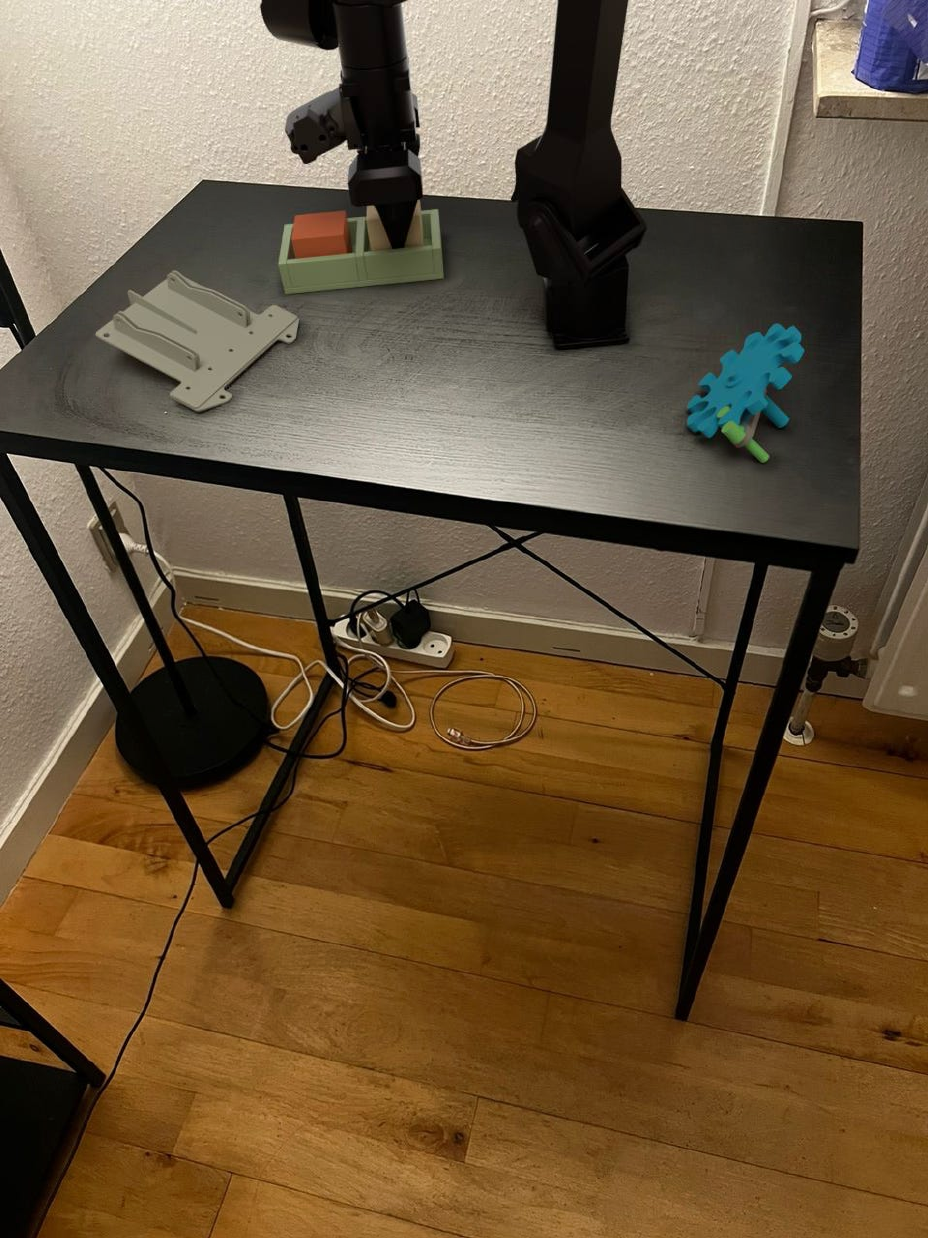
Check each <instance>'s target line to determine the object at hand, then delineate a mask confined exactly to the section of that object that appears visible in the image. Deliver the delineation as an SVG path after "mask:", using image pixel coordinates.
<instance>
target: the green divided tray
mask: <svg viewBox="0 0 928 1238" xmlns="http://www.w3.org/2000/svg"><path fill="white" fill-rule="evenodd" d="M421 215H422V223H423V234H424V246H420V247H410V248H400V249H390V250H380V251H371V246H370V240H369V234H368V228H367V221H366V219H367V215H366V216H358V217H356V216H355V217H347V221H348V227H349V233H350V238H351V244H352V253H349V254H340V255H330V256H320V257H310V258H300V259H295V254H294V250H293V246H292V241H291V238H292V232H293V225H294V223H286V224H284V226H283V234H282V240H281V247H280V251H279V258H278V265H277V266H278V270H279V274H280V278H281V282H282V286H283V289H284V290H283V291H284V295H293V294H303V293H304V294H305V293H312V292H313V293H314V292H323V291H333V290H343V289H354V288H364V287H373V286H383V285H393V284H403V283H412V282H413V283H414V282H422V281H423V282H424V281H433V280H443V279H445V276H444V262H443V261H444V259H443V248H442V247H443V246H442V233H441V226H440V225H441V224H440V213H439V209H438V208H435V209H427V210H426V209H424V210H421Z"/></svg>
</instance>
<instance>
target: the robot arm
mask: <svg viewBox="0 0 928 1238" xmlns="http://www.w3.org/2000/svg"><path fill="white" fill-rule="evenodd" d="M408 1H409V0H261V2H260V4H259V9H260V15H261V18H262V20H263V24H264V26H265V28H266V29H267V31H268V32H269V33H270V35H271V36H273V37H274V38H276V40H279V41H283V42H286V43H291V44H297V45H299V46H300V45H301V46H305V47H309V48H314V49H319V50H324V51H333V50H336V49H338V55H339V60H340V68H341V69H340V81H341V82H340V83H338V87H336V88H334V89H333V90H329V91H326V92H324V93H322V94H321V95H319V96H317V97H315V98H313V99H311V100H309V101H308V102H306V103H304V104H301V105H300V106H298V107H296V108H295V109H293V110H292V111H291V112H289V114H288V115H287V117H286V120H285V126H284V133H285V134H286V136H287V138H288V140H289V142H290V151H291V152H292V153H293V154H294V155H298V157H299V159H300V160H301V162H302V164H303V165H310V164H312V163H313V162H316V161H317V159H318V157H320V156H322V155H324V154H326V153H328V152H329V151H332V150H334V149H336V148H337V147H340V146H341V145H342V144H344V143H345V142H346V145H347V151H355V150H356V153H357V155H355V157H354V159H352V161H351V163H349V166H348V173H347V189H348V194H349V200H350V205H351V206H353V207H356V208H363V207H367V206H375V208H376V210H377V213H378V215H379V217H380V220H381V222H382V225H383V227H384V230H385V232H386V235H387V237H388V240H389V242H390V245H391V247H392V249H400V248H404V247H405V243H406V240H407V236H408V232H409V229H410V225H411V222H412V218H413V215H414V211H415V208H416V205H417V201H418V200H420V201H421V199H423V198H424V187H423V175H422V174H423V173H422V166H421V165H422V164H421V159H420V157H419V156H420V155H419V154H420V150H421V135H420V134H419V133H417V129H418V128H421V121H420V120H421V119H420V110H419V109H420V107H419V100H418V96H417V94H415V93H414V92H413V90H412V81H411V68H410V58H409V56H408V55H409V54H408V47H407V38H406V29H405V22H404V21H405V20H404V13H403V3H405V2H408ZM628 7H629V0H557V1H556V10H555V11H556V12H555V23H554V33H553V45H552V57H551V66H550V76H549V77H550V78H549V87H548V89H549V90H548V98H547V99H548V100H547V101H548V102H547V111H546V121H545V126H544V129H543V131H542V133H541V135H539V136H537V137H535V138H534V139H532V140H530V141H529V142H528V143H526V144H524V145H523V146H520V147H519V148H517V150H516V154H515V159H514V171H515V183H514V184H515V185H514V190H513V192H512V193H511V197H510V201H511V202H512V203H516V217H517V222H518V225H519V228H520V229H522V231H523V234H524V238H525V241H526V244H527V247H528V250H529V254H530V258H531V260H532V264H533V267H534V270H535V273H536V275H537V276H538V277H541V278H542V308H543V312H542V313H543V315H542V316H543V320H544V321H543V322H544V325H545V330H546V332H548V334H549V333H550V334H551V338H552V344H553V347H554V349H556V350H562V349H563V350H564V349H574V348H575V349H576V348H586V347H595V346H606V345H614V344H615V345H616V344H625V343H629V342H630V337H631V334H630V331H629V328H628V325H627V310H628V309H627V308H628V291H629V290H628V289H629V276H630V275H629V274H630V273H629V272H630V264H629V261H628V259H627V254H629V253H630V252H631V251H632V250H635V249H637V248H638V247H640V246H641V244H642V241H643V239H644V236H645V235H646V232H647V230H648V224H647V223H646V221H645V220H644V218H643V217H642V215H641V214H640V212H639V210H638V209H637V208H636V206H635V205H634V203H633V202H632V200H631V199H630V197H629V196H628V194H627V193H626V191H625V190H624V188H623V187H622V184H623V183H622V181H623V180H622V178H623V177H622V173H623V172H622V171H623V170H622V169H623V168H622V167H623V166H622V165H623V163H622V162H623V159H622V153H621V151H620V148H619V146H618V144H617V141H616V138H615V136H614V132H613V130H612V117H613V111H614V110H613V109H614V104H615V96H616V89H617V82H618V76H619V68H620V62H621V61H620V60H621V55H622V49H623V40H624V33H625V26H626V21H627V12H628Z"/></svg>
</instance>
